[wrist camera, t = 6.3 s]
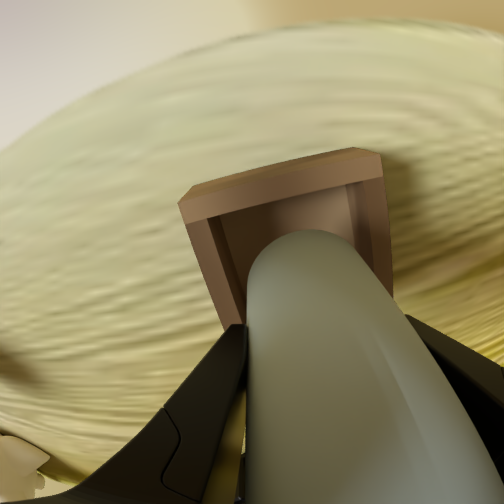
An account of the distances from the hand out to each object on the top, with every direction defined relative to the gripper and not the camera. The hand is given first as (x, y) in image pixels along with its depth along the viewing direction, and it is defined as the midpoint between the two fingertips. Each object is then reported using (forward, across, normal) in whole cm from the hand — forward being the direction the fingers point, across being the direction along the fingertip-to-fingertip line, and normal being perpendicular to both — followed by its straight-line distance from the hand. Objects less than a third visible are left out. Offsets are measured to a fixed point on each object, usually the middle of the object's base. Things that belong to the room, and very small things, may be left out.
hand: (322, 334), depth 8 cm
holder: (+7, 0, 0) cm, 7 cm away
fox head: (+7, +37, +32) cm, 50 cm away
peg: (+2, 0, 0) cm, 2 cm away
